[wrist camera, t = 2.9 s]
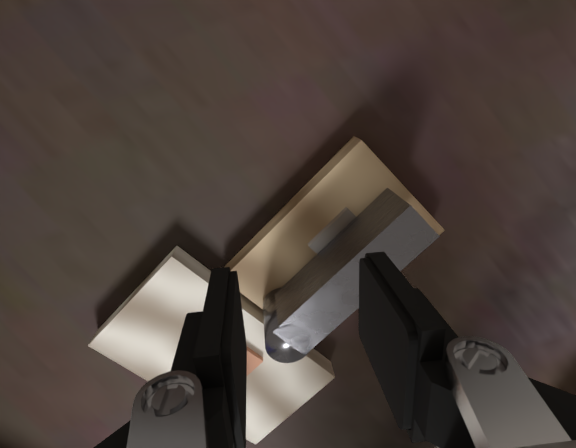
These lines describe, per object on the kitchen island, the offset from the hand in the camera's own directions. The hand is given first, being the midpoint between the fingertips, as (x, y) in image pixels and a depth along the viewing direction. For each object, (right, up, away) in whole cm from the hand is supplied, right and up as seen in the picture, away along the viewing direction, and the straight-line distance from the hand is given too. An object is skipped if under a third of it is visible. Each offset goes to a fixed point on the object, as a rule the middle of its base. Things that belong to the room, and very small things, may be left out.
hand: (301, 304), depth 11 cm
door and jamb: (-1, -3, +20) cm, 20 cm away
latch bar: (+3, 0, +17) cm, 17 cm away
